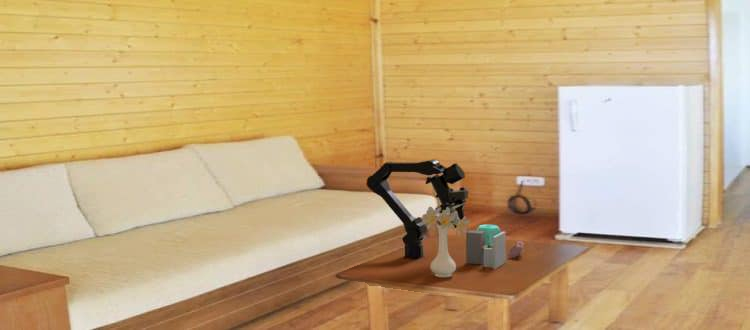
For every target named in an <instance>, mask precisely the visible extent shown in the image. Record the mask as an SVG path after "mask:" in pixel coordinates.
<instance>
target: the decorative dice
mask: <svg viewBox="0 0 750 330" xmlns="http://www.w3.org/2000/svg"><path fill="white" fill-rule="evenodd" d="M475 231H485V245H486V246H489V247H488V248H490V245H491V244H492V237H494V236H495V235H497V234H499V233H501V232H502V231H501V229H500V227H499V226H498V225H495V224H481V225H479V226H478V227H477V229H476V230H475Z"/></svg>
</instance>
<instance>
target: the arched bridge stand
mask: <svg viewBox="0 0 750 330" xmlns="http://www.w3.org/2000/svg"><path fill="white" fill-rule="evenodd" d="M506 233H507V232H506V231H501V233H499V234H497V235H495V236H494V237H492V244H491V245H490V247H488V248H484V263H483V267H484V268H491V267H492V270H496V269H498V268H499V267H502V265H504V264H505V263H506V262H507V260H506V259H507V257H506V256H507V247H506V246H507V245H506V244H507V242H506V241H507V236H506V235H507V234H506Z"/></svg>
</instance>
